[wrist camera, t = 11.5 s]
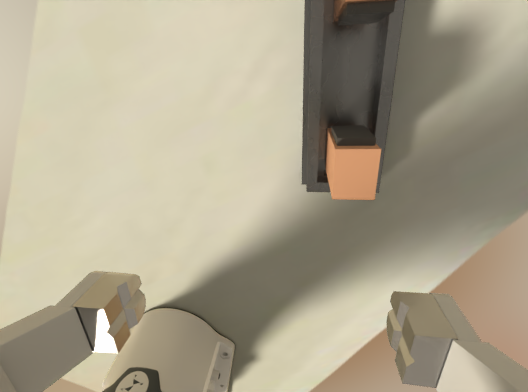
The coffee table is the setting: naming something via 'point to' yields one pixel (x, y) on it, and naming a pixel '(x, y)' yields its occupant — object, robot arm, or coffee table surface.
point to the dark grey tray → (347, 75)
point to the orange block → (352, 162)
